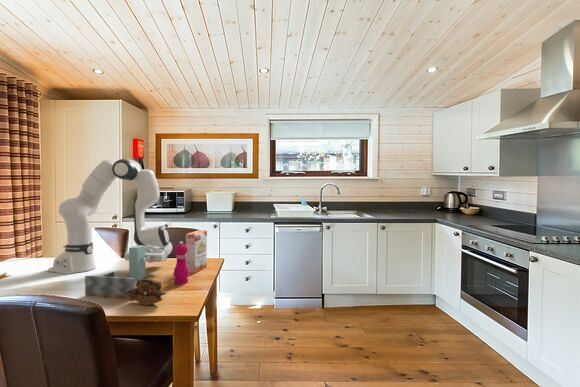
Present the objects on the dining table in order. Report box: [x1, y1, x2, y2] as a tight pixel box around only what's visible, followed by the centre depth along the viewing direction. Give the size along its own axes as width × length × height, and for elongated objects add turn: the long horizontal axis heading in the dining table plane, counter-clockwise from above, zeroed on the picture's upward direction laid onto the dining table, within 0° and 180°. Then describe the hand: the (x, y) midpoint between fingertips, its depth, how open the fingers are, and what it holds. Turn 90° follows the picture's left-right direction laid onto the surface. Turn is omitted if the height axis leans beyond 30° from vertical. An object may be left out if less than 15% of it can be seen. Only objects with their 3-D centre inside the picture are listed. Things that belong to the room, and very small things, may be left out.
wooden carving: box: [127, 277, 167, 306], centre depth 130 cm, size 16×5×10 cm, turn 80°
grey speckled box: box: [84, 271, 137, 300], centre depth 145 cm, size 22×18×8 cm
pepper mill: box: [173, 240, 190, 285], centre depth 157 cm, size 7×7×20 cm
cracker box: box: [185, 229, 208, 274], centre depth 179 cm, size 14×6×21 cm, turn 168°
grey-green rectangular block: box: [128, 244, 147, 281], centre depth 163 cm, size 4×6×16 cm
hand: (136, 260), depth 162 cm, fingers open, 5 cm apart
